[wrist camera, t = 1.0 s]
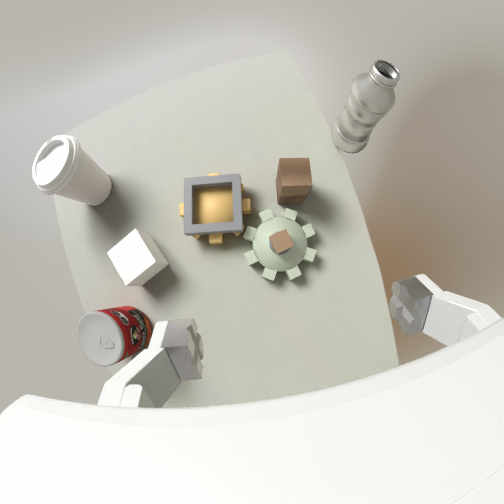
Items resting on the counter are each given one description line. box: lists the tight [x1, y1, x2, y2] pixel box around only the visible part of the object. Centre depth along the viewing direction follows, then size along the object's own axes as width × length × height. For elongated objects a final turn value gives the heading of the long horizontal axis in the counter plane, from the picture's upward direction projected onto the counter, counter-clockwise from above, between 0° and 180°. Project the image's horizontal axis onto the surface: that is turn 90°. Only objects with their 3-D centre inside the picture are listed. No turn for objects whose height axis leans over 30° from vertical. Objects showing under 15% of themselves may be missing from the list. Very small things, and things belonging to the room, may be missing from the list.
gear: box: [243, 208, 317, 281], centre depth 40 cm, size 11×11×5 cm
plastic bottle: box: [331, 60, 400, 153], centre depth 34 cm, size 6×7×20 cm
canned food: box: [76, 306, 151, 366], centre depth 36 cm, size 8×8×11 cm
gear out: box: [180, 173, 251, 244], centre depth 41 cm, size 11×11×4 cm
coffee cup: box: [32, 135, 112, 206], centre depth 37 cm, size 10×10×15 cm
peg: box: [276, 158, 312, 204], centre depth 39 cm, size 4×4×8 cm
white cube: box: [107, 228, 169, 286], centre depth 40 cm, size 6×6×6 cm
